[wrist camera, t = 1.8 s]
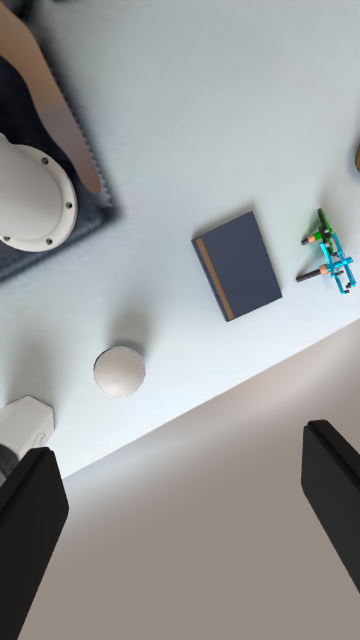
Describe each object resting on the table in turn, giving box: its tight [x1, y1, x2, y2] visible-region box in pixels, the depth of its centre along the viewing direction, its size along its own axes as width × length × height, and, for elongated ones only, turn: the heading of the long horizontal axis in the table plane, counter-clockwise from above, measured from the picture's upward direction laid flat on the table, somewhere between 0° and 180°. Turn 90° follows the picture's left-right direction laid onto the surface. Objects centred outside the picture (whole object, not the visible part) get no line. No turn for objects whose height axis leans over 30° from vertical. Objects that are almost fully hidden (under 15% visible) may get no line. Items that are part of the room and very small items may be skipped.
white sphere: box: [94, 346, 145, 398], centre depth 35 cm, size 10×7×7 cm
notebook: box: [191, 211, 282, 322], centre depth 34 cm, size 13×9×1 cm
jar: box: [0, 396, 54, 487], centre depth 34 cm, size 9×8×12 cm
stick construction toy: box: [296, 208, 356, 294], centre depth 33 cm, size 12×7×8 cm
